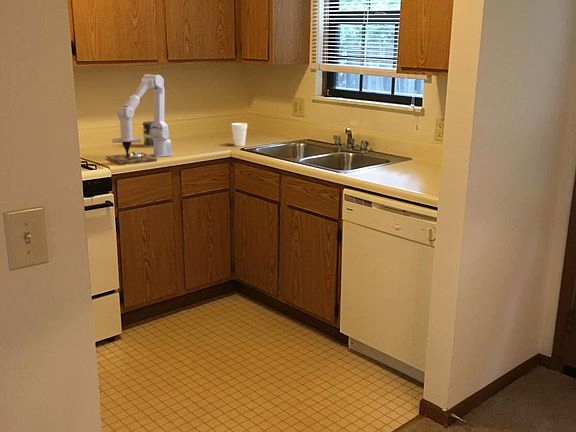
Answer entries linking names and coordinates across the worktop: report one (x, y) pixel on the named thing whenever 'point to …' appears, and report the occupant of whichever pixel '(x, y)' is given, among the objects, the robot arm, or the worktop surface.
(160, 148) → the robot arm
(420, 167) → the worktop surface
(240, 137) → the foam cup
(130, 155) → the cam dial
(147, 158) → the walnut stand
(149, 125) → the coffee can
